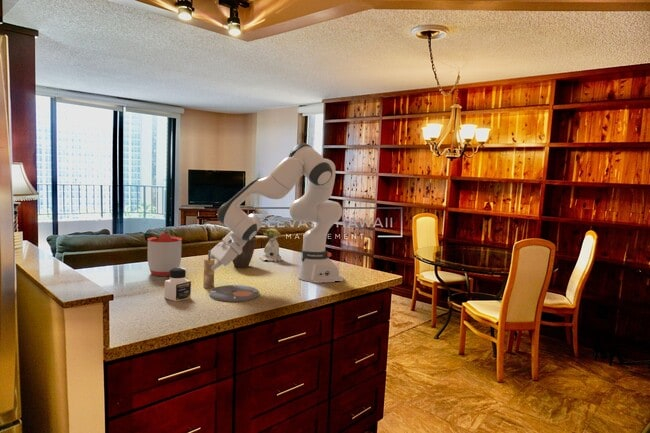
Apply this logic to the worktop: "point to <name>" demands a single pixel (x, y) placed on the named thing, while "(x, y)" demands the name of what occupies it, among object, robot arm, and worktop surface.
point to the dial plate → (234, 293)
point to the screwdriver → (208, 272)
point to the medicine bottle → (177, 285)
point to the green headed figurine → (271, 246)
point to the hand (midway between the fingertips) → (208, 266)
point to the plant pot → (245, 254)
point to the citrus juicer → (164, 254)
